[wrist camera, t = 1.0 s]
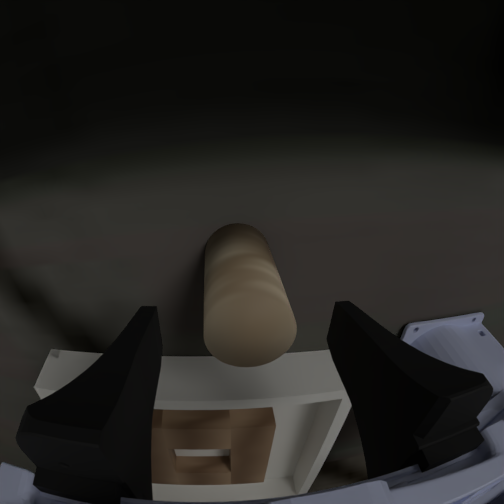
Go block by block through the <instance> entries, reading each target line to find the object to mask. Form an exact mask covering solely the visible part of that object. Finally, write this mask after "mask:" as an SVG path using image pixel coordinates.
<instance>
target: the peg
mask: <svg viewBox="0 0 504 504" xmlns="http://www.w3.org/2000/svg"><path fill="white" fill-rule="evenodd" d="M296 331H297V326H296V321H295V318H294V315H293V312H292V310H291V307H290V304H289V301H288V298H287V296H286V293H285V290H284V287H283V285H282V282H281V279H280V276H279V274H278V271H277V268H276V265H275V263H274V260H273V257H272V254H271V252H270V249H269V246H268V243H267V241H266V239H265V237H264V236H263V234H262V233H261V232H260V231H258V230H257V229H256V228H254V227H252V226H250V225H246V224H239V223H237V224H229V225H226V226H224V227H221V228H220V229H218V230H217V231H216V232H214V233H213V234H212V236H211V237H210V238H209V240H208V242H207V245H206V248H205V272H204V342H205V345H206V347H207V349H208V350H209V352H210V353H211V354H212V355H213V356H214V357H215V358H216V359H218V360H220V361H221V362H223V363H226V364H228V365H232V366H236V367H256V366H261V365H264V364H267V363H270V362H272V361H274V360H276V359H277V358H279V357H280V356H282V355H283V354H284V353H285V352H286V351H287V350H288V349H289V348H290V347H291V345H292V343H293V342H294V339H295V337H296Z"/></svg>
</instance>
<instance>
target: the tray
mask: <svg viewBox="0 0 504 504" xmlns="http://www.w3.org/2000/svg"><path fill="white" fill-rule="evenodd" d="M102 354H103V353H89V352H77V351H66V350H56V349H51V351H50V353H49V355H48V357H47V359H46V361H45V363H44V366H43V368H42V370H41V372H40V375H39V377H38V379H37V382H36V384H35V386H34V388H35V389H36V391H37V393H38V395H39V396H40V398H41V399H43V398H45V397H47V396H49V395H51V394H52V393H54V392H56V391H57V390H59V389H61V388H62V387H64V386H65V385H67V384H68V383H70V382H71V381H72V380H74V379H75V378H76V377H77V376H79V375H80V374H81V373H83V372H84V371H85V370H86V369H88V368H89V367H90V366H91V365H92V364H93V363H94V362H95V361H96V360H97V359H98V358H99V357H100V356H101V355H102ZM351 406H352V405H351V402H350V399H349V397H348V395H347V392H346V390H345V388H344V385H343V383H342V381H341V379H340V376H339V374H338V372H337V369H336V367H335V365H334V362H333V360H332V357H331V353H330V350H320V351H309V352H296V353H284V354H283V355H282V356H280V357H279V358H277V359H276V360H274V361H272V362H270V363H267V364H264V365H261V366H256V367H236V366H232V365H228V364H226V363H223V362H221V361H220V360H218V359H216V358H215V357H214V356H162V360H161V370H160V376H159V381H158V387H157V392H156V398H155V404H154V409H164V410H228V409H250V408H265V407H272V408H273V412H274V417H275V422H276V429H275V434H274V438H273V443H272V448H271V452H270V457H269V461H268V466H267V470H266V474H265V479H264V482H260V483H248V484H230V485H172V484H154V483H152V493H153V500H155V501H172V502H228V501H245V500H258V499H268V498H277V497H285V496H292V495H298V494H305V493H307V492H308V490H309V488H310V487H311V485H312V483H313V481H314V480H315V478H316V476H317V474H318V472H319V471H320V469H321V467H322V465H323V463H324V461H325V460H326V458H327V456H328V454H329V452H330V450H331V448H332V446H333V444H334V442H335V440H336V438H337V436H338V434H339V432H340V430H341V428H342V426H343V424H344V421H345V419H346V417H347V415H348V413H349V411H350V408H351ZM174 450H175V453H176V456H229V449H208V450H189V449H174Z"/></svg>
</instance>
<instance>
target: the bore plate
mask: <svg viewBox="0 0 504 504" xmlns="http://www.w3.org/2000/svg"><path fill="white" fill-rule="evenodd" d="M275 429H276V422H275V417H274V412H273V408H272V407H265V408H250V409H228V410H164V409H154V410H153V418H152V439H151V470H152V483H154V484H172V485H230V484H248V483H260V482H264V479H265V474H266V470H267V466H268V461H269V457H270V452H271V448H272V443H273V438H274V434H275ZM174 449H189V450H208V449H229V456H176V453H175V450H174Z"/></svg>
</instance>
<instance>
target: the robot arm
mask: <svg viewBox="0 0 504 504" xmlns="http://www.w3.org/2000/svg"><path fill="white" fill-rule="evenodd" d="M483 318H484V314H483V313H482V312H478V313H472V314H467V315H461V316H455V317H449V318H443V319H436V320H429V321H422V322H415V323H410V324H408V325H406V326H405V328H404V330H403V333H402V336H401V338H398V337H397V336H395V335H394V334H392V333H391V332H389V331H388V330H387V329H385V328H384V327H383V326H381V325H380V324H379V323H377V322H376V321H375V320H373V319H372V318H371V317H369V316H368V315H367V314H366V313H364V312H363V311H362V310H361V309H359V308H358V307H357V306H355V305H354V304H353V303H351V302H350V301H340V302H335V306H334V310H333V315H332V319H331V323H330V327H329V331H328V335H327V342H328V346H329V350H330V353H331V357H332V360H333V362H334V365H335V367H336V369H337V372H338V374H339V376H340V379H341V381H342V383H343V385H344V388H345V390H346V392H347V395H348V397H349V399H350V402H351V405H352V407H353V411H354V414H355V418H356V421H357V425H358V429H359V433H360V437H361V441H362V446H363V451H364V456H365V461H366V467H367V474H368V480H365V481H361V482H357V483H353V484H349V485H345V486H340V487H336V488H331V489H326V490H321V491H316V492H310V493H305V494H298V495H292V496H285V497H277V498H268V499H258V500H245V501H228V502H172V501H155V500H153V493H152V470H151V439H152V418H153V410H154V404H155V398H156V392H157V387H158V381H159V376H160V370H161V360H162V339H161V333H160V326H159V319H158V312H157V306H142V307H140V308H139V310H138V311H137V313H136V314H135V315H134V317H133V318H132V319H131V321H130V322H129V323H128V325H127V326H126V327H125V329H124V330H123V331H122V332H121V334H120V335H119V336H118V337H117V339H116V340H115V341H114V342H113V343H112V344H111V345H110V347H109V348H108V349H107V350H106V351H105V352H104V353H103V354H102V355H101V356H100V357H99V358H98V359H97V360H96V361H95V362H94V363H93V364H92V365H91V366H90V367H89V368H88V369H86V370H85V371H84V372H83V373H81V374H80V375H79V376H77V377H76V378H75V379H74V380H72V381H71V382H70V383H68V384H67V385H65V386H64V387H62V388H61V389H59V390H57V391H56V392H54V393H52V394H51V395H49V396H47V397H45V398H43V399H41V400H39V401H37V402H35V403H33V404H31V405H29V406H27V408H26V410H25V412H24V415H23V417H22V420H21V423H20V426H19V429H18V432H17V435H16V441H17V444H18V445H19V447H20V448H21V450H22V451H23V452H24V453H25V454H26V455H27V456H28V457H29V459H30V460H31V461H32V462H33V463H34V464H35V465H36V466H37V468H36V472H35V474H34V473H33V472H31V471H29V470H27V469H24V468H21V467H18V466H15V465H11V464H8V463H6V462H2V463H1V467H0V504H504V348H503V347H502V346H501V345H500V344H499V342H498V341H497V340H496V339H495V338H494V337H493V336H492V334H491V333H490V332H489V331H488V330H487V329H486V328H485V327H484V326H483V325H482V323H481V322H482V320H483Z"/></svg>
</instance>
